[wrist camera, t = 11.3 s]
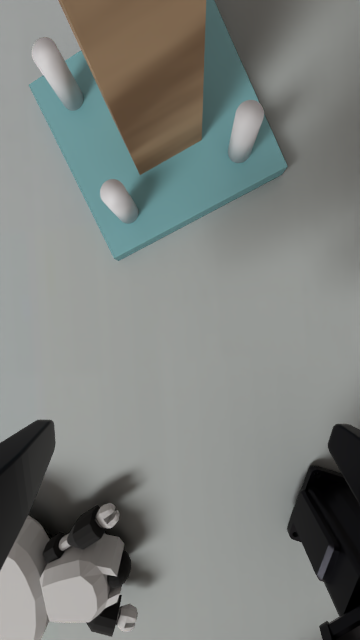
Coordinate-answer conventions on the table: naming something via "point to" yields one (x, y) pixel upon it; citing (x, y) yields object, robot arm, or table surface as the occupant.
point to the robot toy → (66, 578)
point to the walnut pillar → (146, 70)
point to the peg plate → (173, 174)
